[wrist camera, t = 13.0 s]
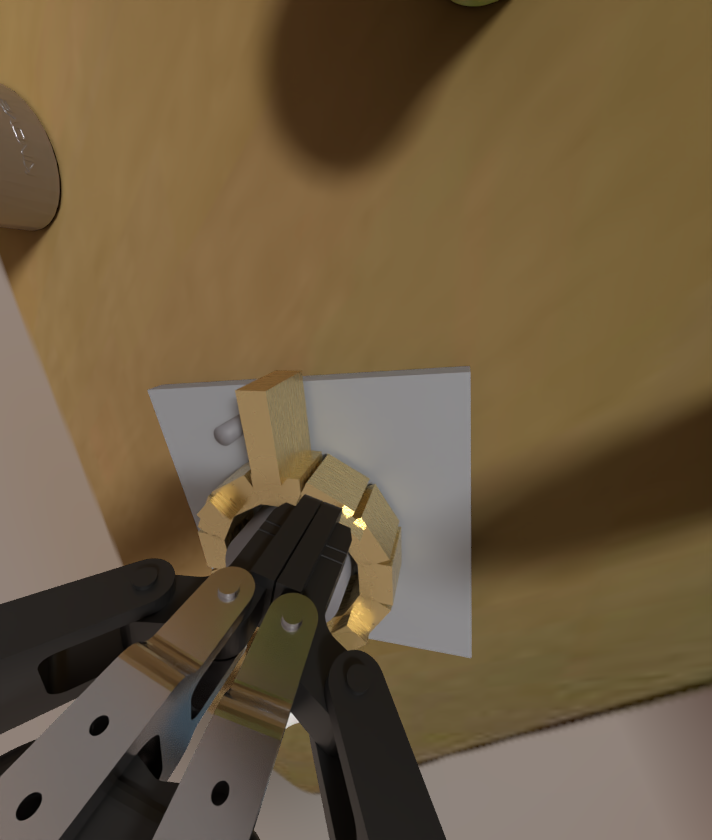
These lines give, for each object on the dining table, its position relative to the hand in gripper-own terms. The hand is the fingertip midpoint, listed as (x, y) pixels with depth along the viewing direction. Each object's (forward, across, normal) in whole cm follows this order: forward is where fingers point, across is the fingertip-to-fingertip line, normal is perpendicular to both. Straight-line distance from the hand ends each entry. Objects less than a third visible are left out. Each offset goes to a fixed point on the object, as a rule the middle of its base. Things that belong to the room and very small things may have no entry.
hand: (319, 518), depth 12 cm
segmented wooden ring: (+11, +4, +10) cm, 15 cm away
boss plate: (+13, +3, +13) cm, 19 cm away
